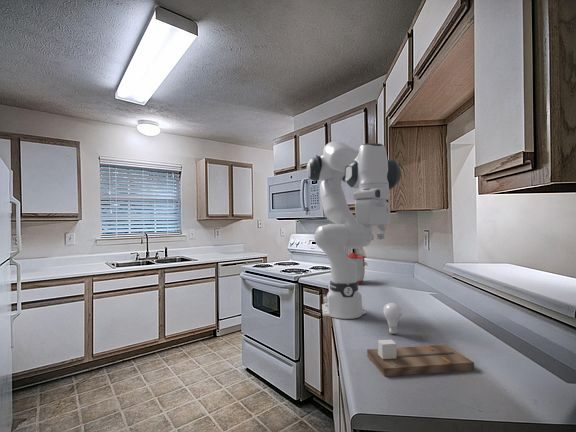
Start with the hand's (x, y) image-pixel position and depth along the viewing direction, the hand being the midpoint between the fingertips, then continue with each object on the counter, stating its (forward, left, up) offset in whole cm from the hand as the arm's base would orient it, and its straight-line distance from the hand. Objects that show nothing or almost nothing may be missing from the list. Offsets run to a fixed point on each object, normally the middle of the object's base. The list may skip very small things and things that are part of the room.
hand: (375, 239), depth 94 cm
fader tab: (+8, -1, -32) cm, 33 cm away
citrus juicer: (-103, +27, -35) cm, 112 cm away
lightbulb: (-14, +11, -35) cm, 39 cm away
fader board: (+8, +8, -34) cm, 36 cm away
